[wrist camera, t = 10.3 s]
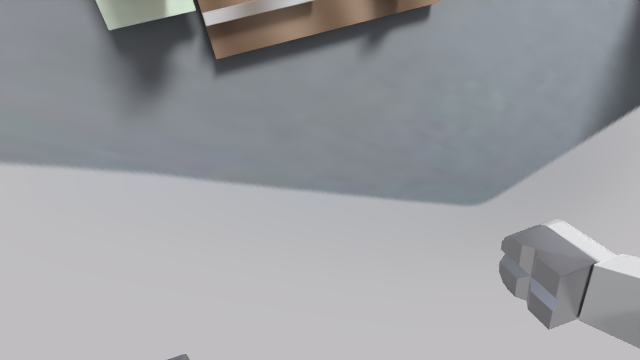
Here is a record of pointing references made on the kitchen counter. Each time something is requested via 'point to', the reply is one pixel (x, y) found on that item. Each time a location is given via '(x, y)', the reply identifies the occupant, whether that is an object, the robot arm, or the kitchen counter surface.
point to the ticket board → (286, 19)
